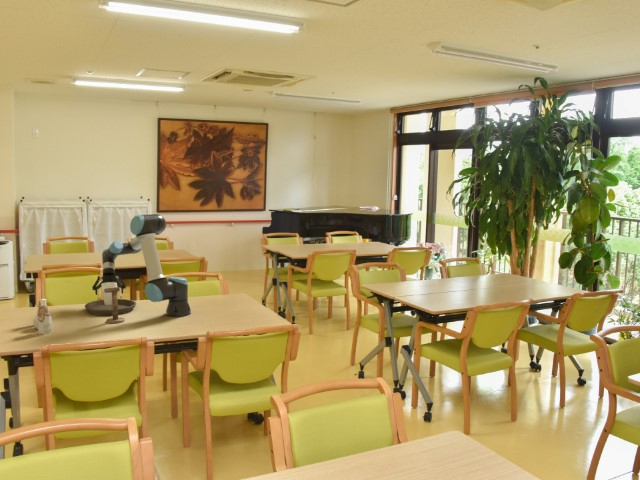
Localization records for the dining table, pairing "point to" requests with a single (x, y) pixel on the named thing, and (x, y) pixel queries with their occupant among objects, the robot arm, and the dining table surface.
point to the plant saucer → (109, 307)
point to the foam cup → (108, 296)
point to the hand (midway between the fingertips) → (109, 298)
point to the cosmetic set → (43, 318)
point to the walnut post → (114, 306)
